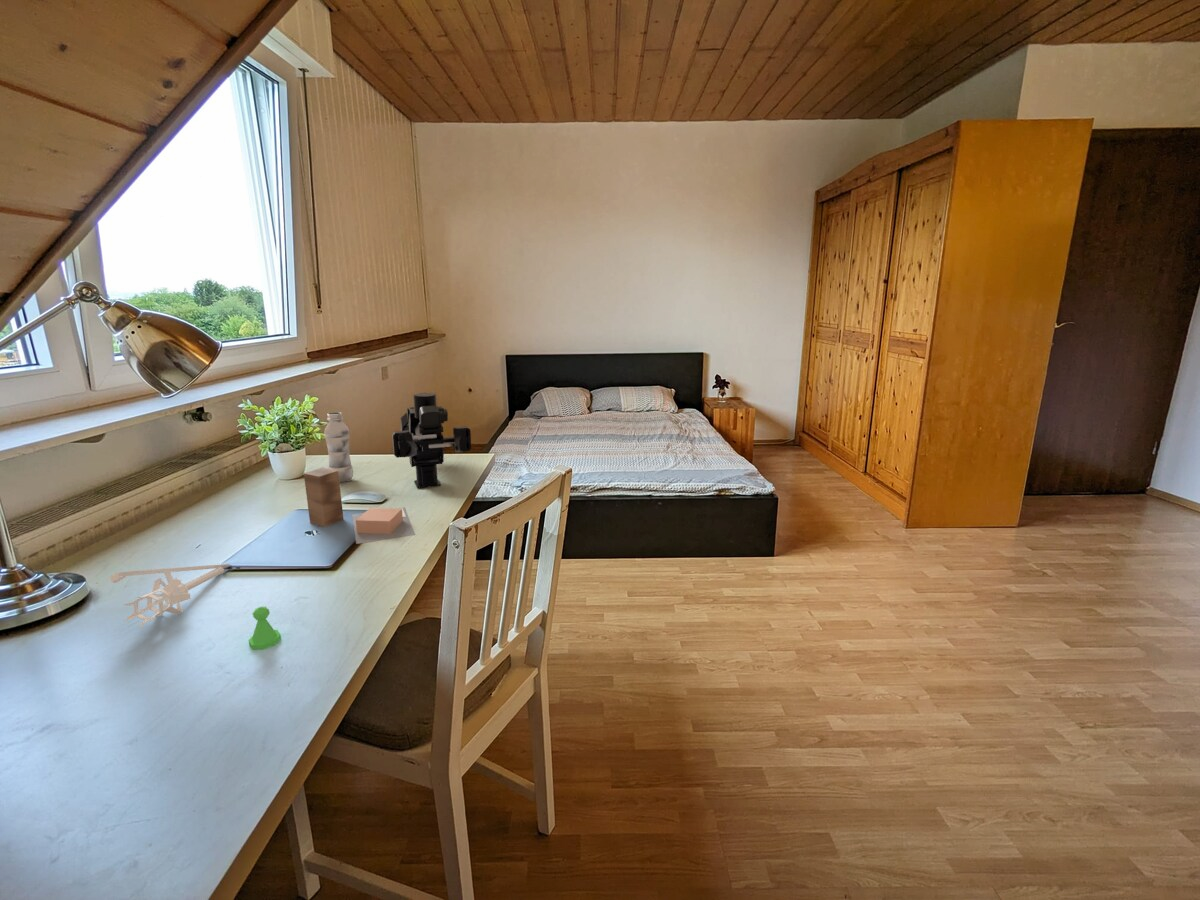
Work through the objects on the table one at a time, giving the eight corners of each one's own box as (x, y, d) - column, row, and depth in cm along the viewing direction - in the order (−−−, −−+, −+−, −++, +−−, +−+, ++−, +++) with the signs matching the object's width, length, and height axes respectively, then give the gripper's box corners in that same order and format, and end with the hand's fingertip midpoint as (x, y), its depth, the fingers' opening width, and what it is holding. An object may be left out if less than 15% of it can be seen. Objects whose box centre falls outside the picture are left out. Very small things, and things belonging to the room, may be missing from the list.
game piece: (252, 636, 87) (246, 602, 86) (283, 631, 89) (278, 597, 87) (246, 652, 83) (240, 617, 82) (278, 646, 85) (273, 611, 83)
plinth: (371, 519, 130) (370, 508, 130) (402, 520, 130) (401, 508, 130) (356, 532, 123) (355, 520, 122) (390, 533, 123) (389, 521, 122)
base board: (352, 518, 134) (352, 513, 133) (404, 511, 139) (404, 506, 138) (356, 548, 118) (356, 542, 118) (415, 538, 123) (415, 533, 123)
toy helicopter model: (234, 614, 108) (115, 636, 84) (217, 573, 110) (95, 583, 85) (263, 597, 108) (152, 615, 84) (245, 557, 110) (131, 563, 85)
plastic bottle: (337, 477, 164) (330, 410, 158) (359, 478, 163) (352, 411, 157) (324, 484, 157) (316, 415, 152) (346, 485, 156) (338, 416, 151)
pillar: (329, 519, 133) (322, 467, 129) (343, 523, 131) (338, 470, 127) (310, 526, 128) (303, 473, 125) (325, 530, 126) (319, 476, 123)
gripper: (388, 406, 140) (393, 420, 126) (463, 402, 147) (475, 414, 134) (391, 448, 143) (397, 466, 129) (464, 442, 150) (477, 458, 137)
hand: (437, 450), depth 132 cm, fingers open, 9 cm apart
